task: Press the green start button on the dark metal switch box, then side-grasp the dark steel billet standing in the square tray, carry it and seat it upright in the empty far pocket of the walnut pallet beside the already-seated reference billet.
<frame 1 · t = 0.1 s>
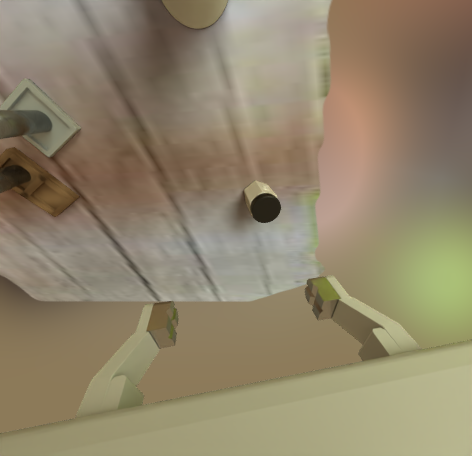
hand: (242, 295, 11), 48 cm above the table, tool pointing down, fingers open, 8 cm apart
pallet: (39, 183, 50), on the table
jar: (256, 193, 60), on the table
reference billet: (19, 173, 47), point 1 cm above the table, touching pallet
billet: (40, 121, 42), point 1 cm above the table, touching square tray
square tray: (42, 121, 43), on the table
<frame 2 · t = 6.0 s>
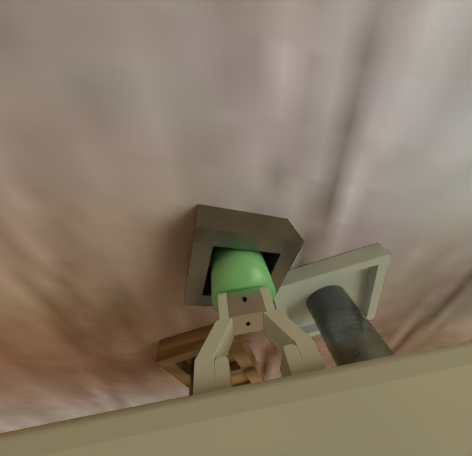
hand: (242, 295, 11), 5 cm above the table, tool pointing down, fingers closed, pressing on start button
start button: (239, 274, 13), point 3 cm above the table, slide at 0.6 cm, touching gripper
pallet: (219, 357, 25), on the table
switch box: (234, 248, 15), on the table
billet: (325, 298, 20), point 1 cm above the table, touching square tray
square tray: (322, 294, 21), on the table
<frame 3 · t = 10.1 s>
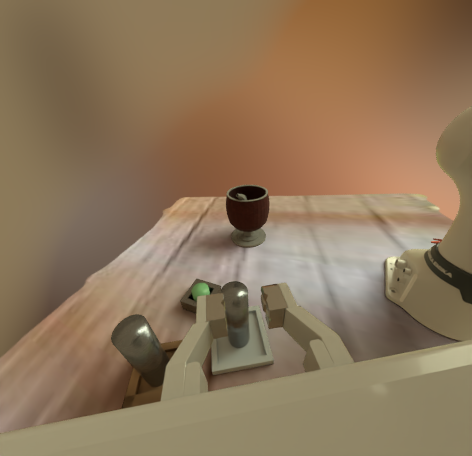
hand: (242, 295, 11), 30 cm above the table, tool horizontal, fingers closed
start button: (201, 294, 44), point 2 cm above the table, slide at 1.2 cm
pallet: (157, 401, 30), on the table
switch box: (203, 300, 46), on the table
mate gourd: (247, 238, 66), on the table
reference billet: (159, 371, 33), point 1 cm above the table, touching pallet
billet: (238, 336, 37), point 1 cm above the table, touching square tray
square tray: (239, 337, 38), on the table
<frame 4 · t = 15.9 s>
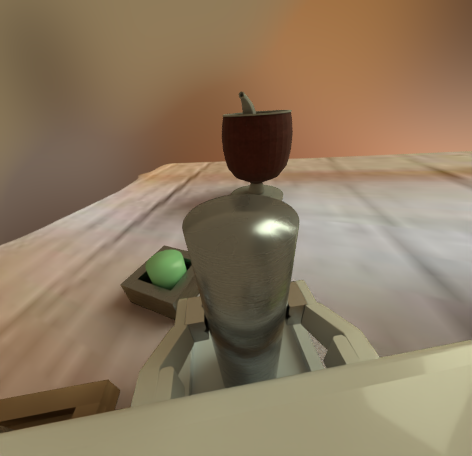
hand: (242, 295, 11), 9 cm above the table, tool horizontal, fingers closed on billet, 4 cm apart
start button: (169, 273, 22), point 2 cm above the table, slide at 1.2 cm
switch box: (174, 286, 23), on the table
mate gourd: (255, 198, 44), on the table
billet: (248, 368, 15), point 1 cm above the table, touching gripper, square tray
square tray: (248, 371, 15), on the table
when the fingers open (11 cm above the table, at t = 23.0 s): billet drops 1 cm, resting on pallet.
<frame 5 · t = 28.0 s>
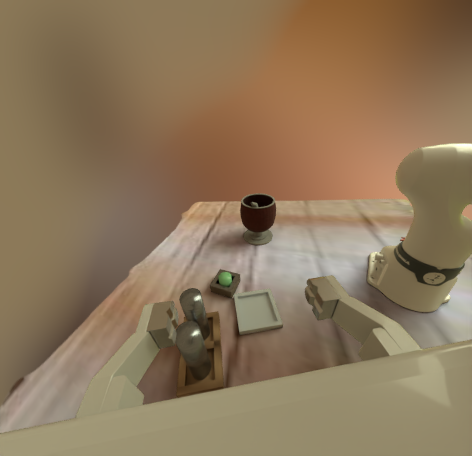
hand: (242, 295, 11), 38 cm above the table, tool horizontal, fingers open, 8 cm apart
start button: (225, 281, 58), point 2 cm above the table, slide at 1.2 cm
pallet: (202, 351, 44), on the table
switch box: (226, 286, 59), on the table
mate gourd: (257, 237, 80), on the table
reference billet: (201, 332, 46), point 1 cm above the table, touching pallet
billet: (201, 367, 40), point 1 cm above the table, touching pallet
square tray: (256, 311, 51), on the table
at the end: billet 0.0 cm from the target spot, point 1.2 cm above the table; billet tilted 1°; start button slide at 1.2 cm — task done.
